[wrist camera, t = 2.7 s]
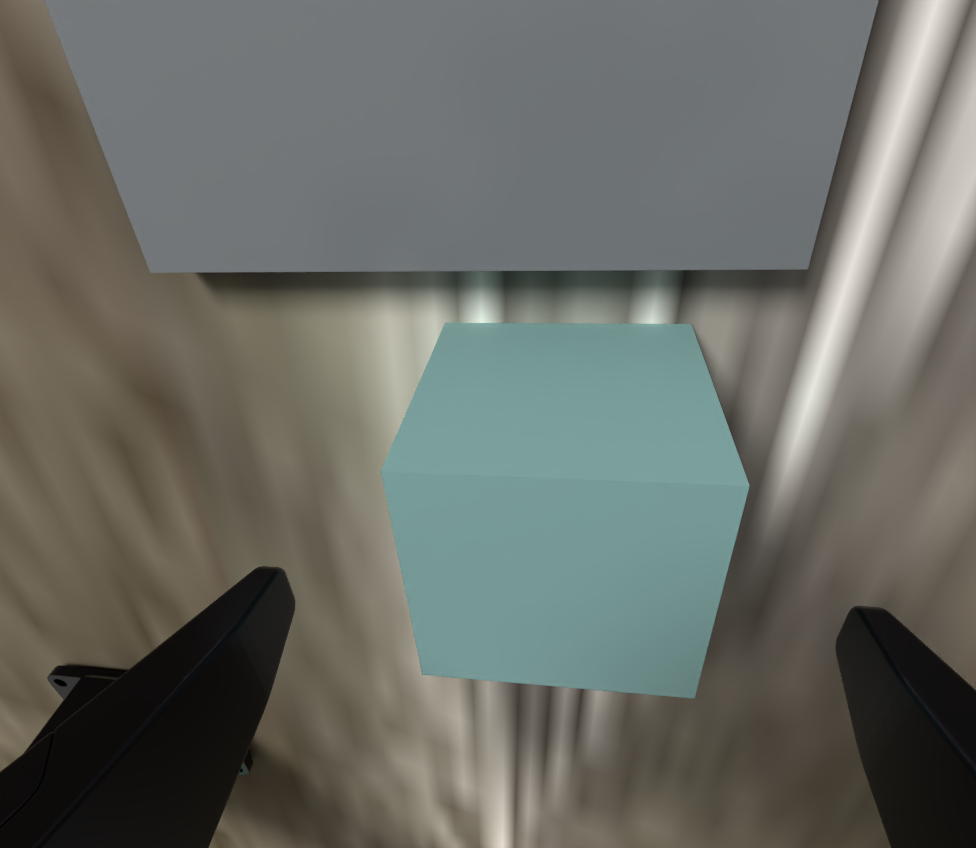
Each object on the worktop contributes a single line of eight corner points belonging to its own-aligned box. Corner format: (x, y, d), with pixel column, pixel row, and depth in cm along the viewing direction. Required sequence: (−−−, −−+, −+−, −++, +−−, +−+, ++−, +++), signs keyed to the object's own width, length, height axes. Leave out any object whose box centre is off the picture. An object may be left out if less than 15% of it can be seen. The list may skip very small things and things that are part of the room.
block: (662, 507, 15) (694, 698, 11) (464, 498, 15) (421, 674, 11) (690, 322, 12) (749, 485, 8) (445, 321, 12) (380, 471, 8)
